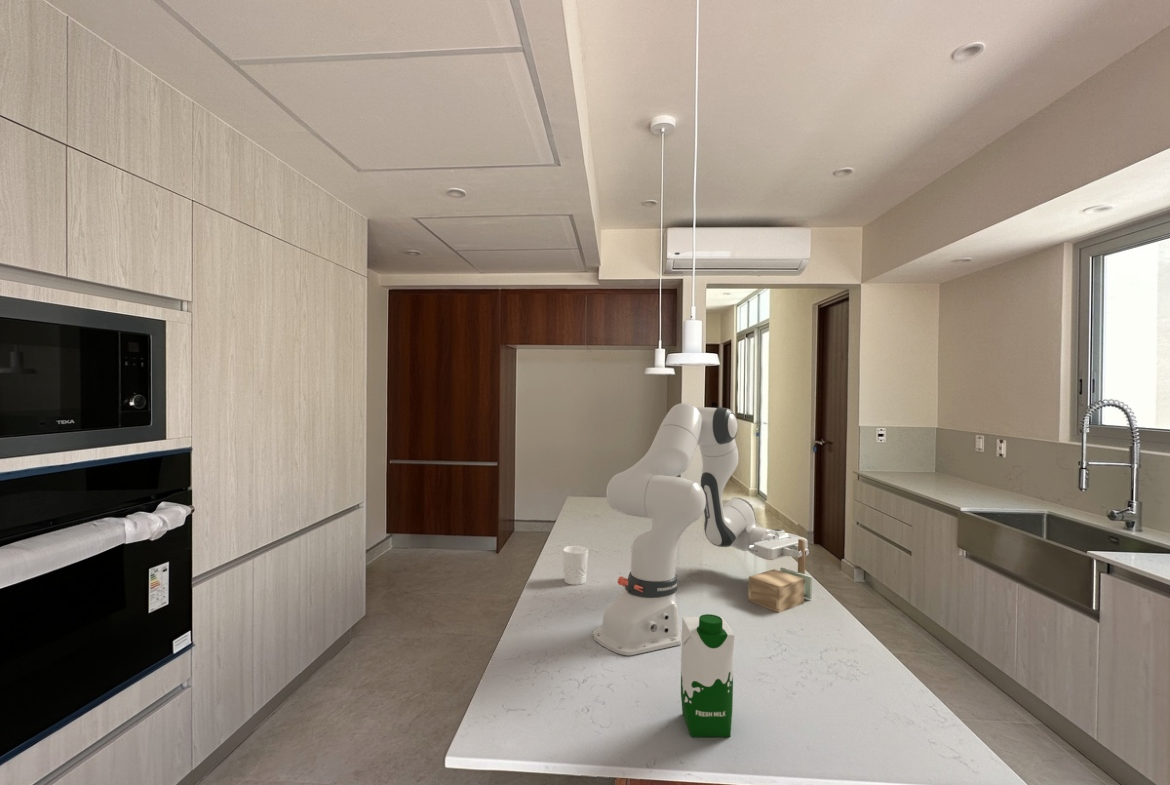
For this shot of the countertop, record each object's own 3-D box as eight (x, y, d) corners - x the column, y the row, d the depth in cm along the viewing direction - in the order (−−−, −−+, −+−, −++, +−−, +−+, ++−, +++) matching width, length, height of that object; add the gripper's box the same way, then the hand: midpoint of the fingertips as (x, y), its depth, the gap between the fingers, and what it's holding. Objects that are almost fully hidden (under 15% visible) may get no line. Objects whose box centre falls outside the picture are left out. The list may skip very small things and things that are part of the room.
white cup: (588, 577, 177) (589, 546, 177) (586, 586, 169) (587, 553, 169) (564, 576, 178) (564, 545, 178) (560, 585, 170) (561, 552, 170)
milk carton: (686, 740, 95) (688, 624, 95) (676, 710, 104) (678, 604, 104) (737, 740, 95) (739, 624, 95) (722, 710, 104) (724, 604, 104)
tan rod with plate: (787, 607, 154) (788, 551, 154) (757, 596, 162) (758, 543, 162) (818, 596, 163) (819, 543, 163) (788, 586, 171) (788, 535, 171)
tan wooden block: (778, 612, 151) (779, 586, 151) (748, 600, 159) (748, 576, 159) (803, 603, 159) (804, 578, 159) (773, 592, 167) (773, 569, 167)
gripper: (744, 537, 171) (783, 548, 160) (783, 528, 183) (822, 538, 172) (743, 558, 171) (783, 570, 160) (783, 547, 183) (822, 558, 172)
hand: (804, 553), depth 166 cm, fingers closed on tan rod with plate, 2 cm apart
